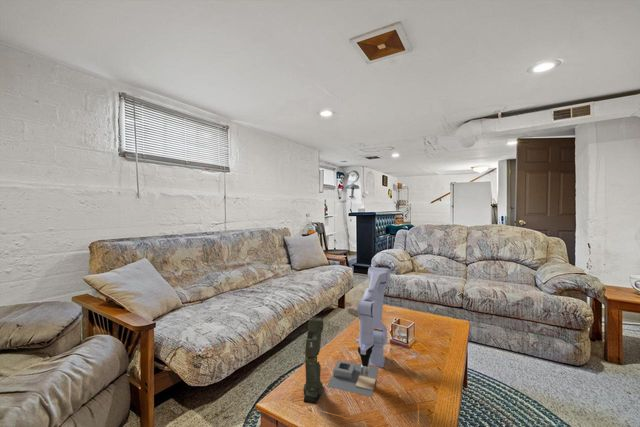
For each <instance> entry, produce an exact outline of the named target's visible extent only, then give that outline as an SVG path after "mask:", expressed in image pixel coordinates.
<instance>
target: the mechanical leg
mask: <svg viewBox="0 0 640 427" xmlns="http://www.w3.org/2000/svg"><path fill="white" fill-rule="evenodd" d="M323 320H324V318H322V317H320V316H316V315H315V316H314V315H312V316H311V317H309V319H308V327H307V337H306V339H305V340H306V341H305V349H304V353H305V354H304V356H305V358H304V365H305V366H304V367H305V383H304V385H303V394H304V397H303V403H308V404H314V405H315V404H317V403H318V400H319V399H320V397H322V396H323V395H322V394H323V382H322V380H321V372H322V371H321V368H322V366H321V364H320V361H318V355H319V353H320V351H321V341H322V333H323V330H324V324H325V323H324V321H323Z"/></svg>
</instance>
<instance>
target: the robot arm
mask: <svg viewBox="0 0 640 427" xmlns="http://www.w3.org/2000/svg"><path fill="white" fill-rule="evenodd" d="M367 270H368V271H367V278H368V280H369V285H368V287H366V288H365V290H364V293H363V296H362V299H361V300H360V301H359V302H358V303H357V314H358V315H357V316H358V321H359V326H358V327H359V334H358V337H359V338H356V343H358V344H359V345H358V348H357V353H358V354H359V357H360V362H361V361H362V365H363V366H366V367H368V364H369V358H370V366H372V367H377V368H384V365H385V361H386V356H385V355H384V346H385V345H386V344H387V343H388V341H387V340H388V328H387V326H386V325H385V324H384V323H383V312H384V311H383V310H384V299H385V297H384V296H385V290H386V287H389V286H390V279H391V270H390V269H389V268H388V267H387V268H385V267H374V266H373V267H372V266H369V267H368V269H367Z"/></svg>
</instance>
